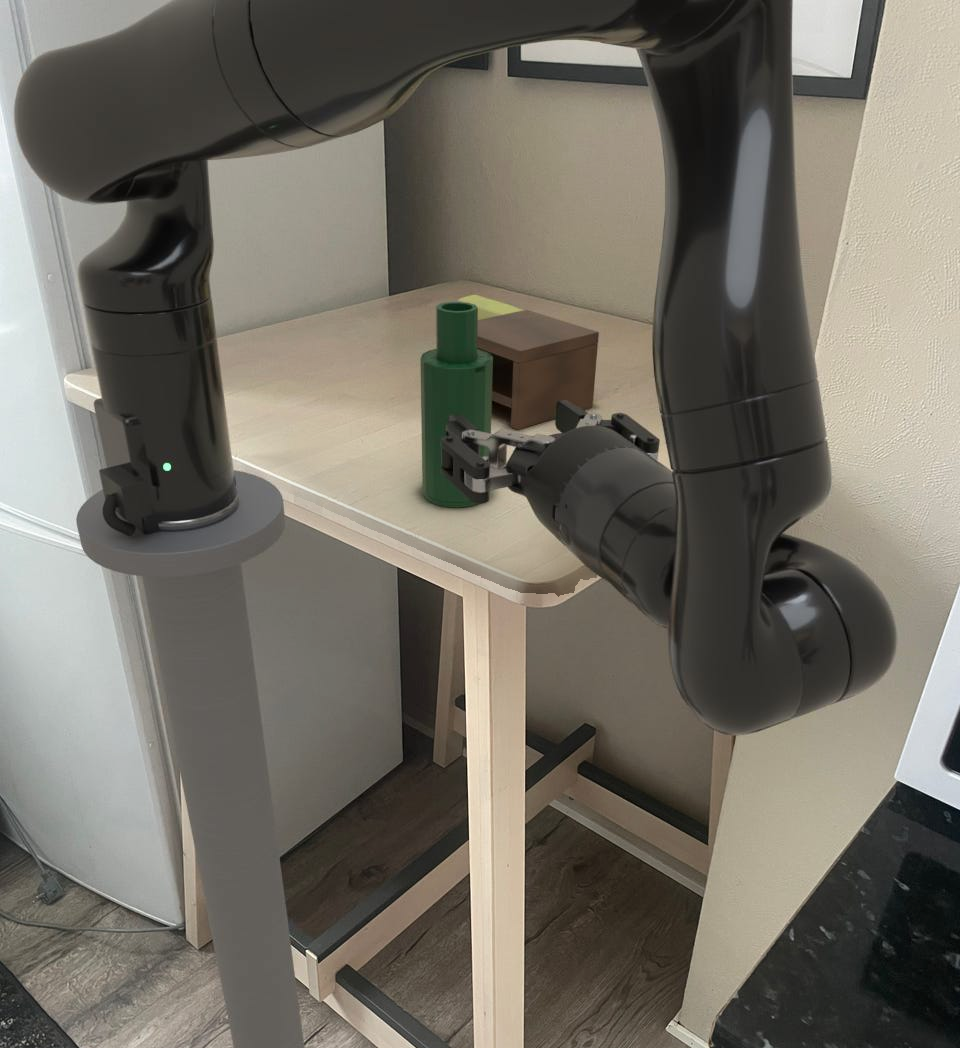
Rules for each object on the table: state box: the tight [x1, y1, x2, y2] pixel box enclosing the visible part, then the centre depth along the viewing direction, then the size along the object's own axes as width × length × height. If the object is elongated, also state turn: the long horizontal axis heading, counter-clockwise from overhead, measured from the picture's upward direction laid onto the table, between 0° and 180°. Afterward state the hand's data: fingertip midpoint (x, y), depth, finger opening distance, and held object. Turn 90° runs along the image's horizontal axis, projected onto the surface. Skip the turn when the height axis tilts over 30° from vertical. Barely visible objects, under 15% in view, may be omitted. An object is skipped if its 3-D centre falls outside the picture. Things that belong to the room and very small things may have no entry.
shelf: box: [477, 309, 600, 431], centre depth 103 cm, size 11×11×8 cm
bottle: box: [420, 301, 493, 509], centre depth 82 cm, size 6×6×16 cm
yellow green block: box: [456, 294, 524, 320], centre depth 125 cm, size 14×6×20 cm
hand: (507, 419), depth 73 cm, fingers open, 8 cm apart
